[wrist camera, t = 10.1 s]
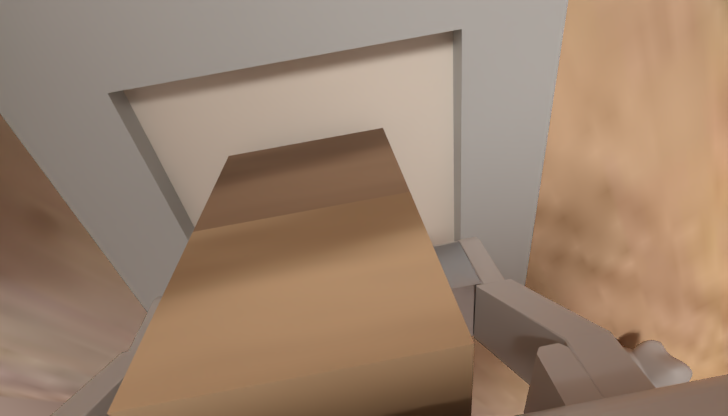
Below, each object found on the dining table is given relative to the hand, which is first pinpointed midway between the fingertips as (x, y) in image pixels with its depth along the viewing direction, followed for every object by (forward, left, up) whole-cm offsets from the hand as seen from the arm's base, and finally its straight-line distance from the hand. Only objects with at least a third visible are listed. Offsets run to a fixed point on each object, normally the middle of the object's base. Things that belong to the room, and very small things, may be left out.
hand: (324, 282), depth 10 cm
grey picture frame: (0, 0, -6) cm, 6 cm away
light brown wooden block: (0, 0, -4) cm, 4 cm away
